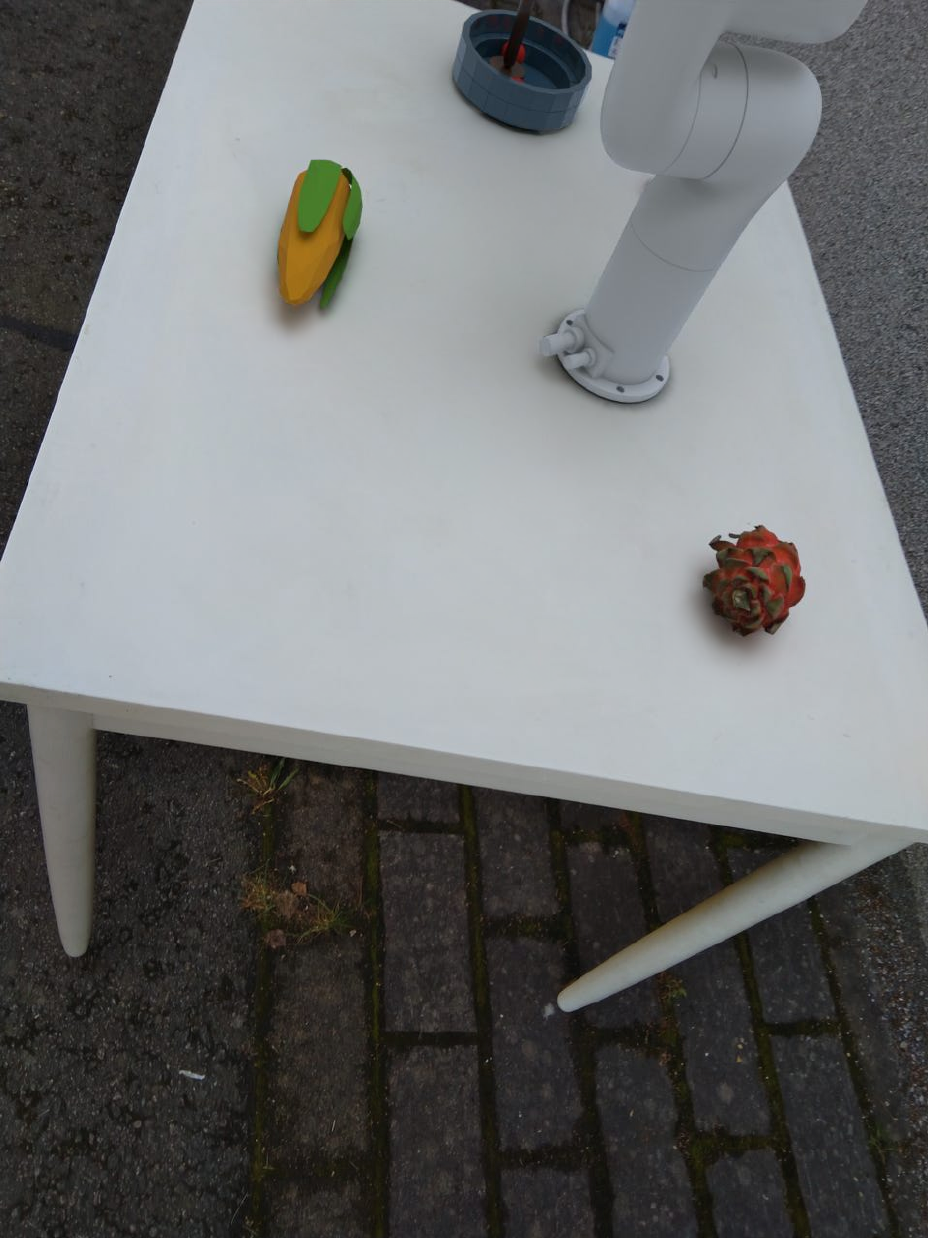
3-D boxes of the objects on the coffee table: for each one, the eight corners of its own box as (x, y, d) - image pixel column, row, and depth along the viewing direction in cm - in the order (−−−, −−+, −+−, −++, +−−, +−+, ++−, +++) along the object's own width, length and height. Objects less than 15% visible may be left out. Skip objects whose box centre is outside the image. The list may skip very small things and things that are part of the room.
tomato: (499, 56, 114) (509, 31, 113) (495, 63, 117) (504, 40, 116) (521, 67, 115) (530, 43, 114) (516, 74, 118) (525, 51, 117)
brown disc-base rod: (500, 88, 112) (544, -55, 99) (479, 65, 113) (519, -79, 100) (529, 86, 114) (576, -54, 101) (508, 63, 115) (552, -77, 102)
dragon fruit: (704, 660, 81) (718, 572, 89) (805, 661, 77) (810, 570, 85) (693, 589, 76) (708, 503, 84) (801, 587, 72) (806, 497, 80)
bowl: (494, 141, 109) (508, 97, 104) (427, 56, 114) (437, 10, 110) (599, 129, 117) (617, 88, 112) (532, 50, 122) (546, 7, 117)
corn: (374, 146, 89) (340, 276, 79) (366, 213, 96) (334, 342, 85) (300, 127, 88) (256, 256, 78) (297, 196, 95) (255, 325, 84)
